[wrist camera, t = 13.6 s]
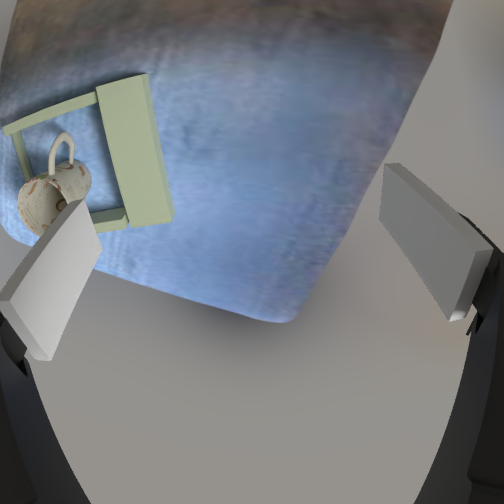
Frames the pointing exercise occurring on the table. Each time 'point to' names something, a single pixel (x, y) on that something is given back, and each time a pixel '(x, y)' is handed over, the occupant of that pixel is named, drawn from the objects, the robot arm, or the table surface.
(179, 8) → the table surface
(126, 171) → the pale green rectangular frame
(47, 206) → the mug
